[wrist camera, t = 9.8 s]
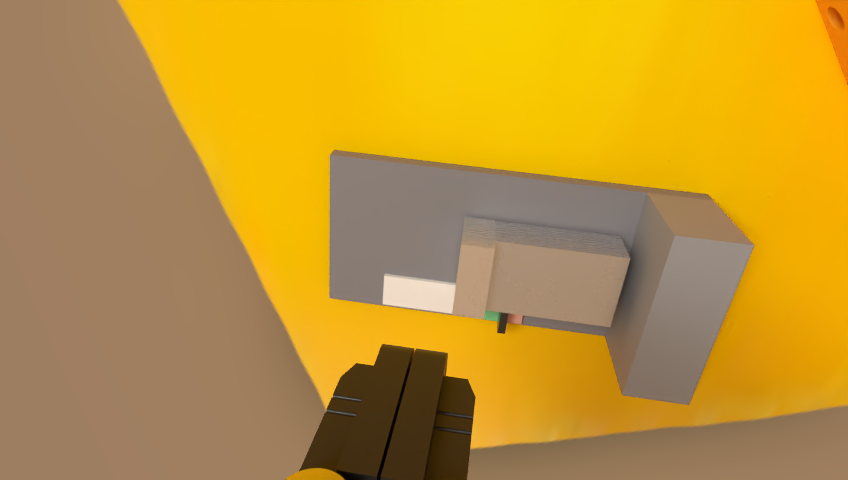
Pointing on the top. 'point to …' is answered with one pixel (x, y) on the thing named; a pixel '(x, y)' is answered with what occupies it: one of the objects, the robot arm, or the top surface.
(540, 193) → the base
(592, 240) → the block
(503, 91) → the top surface
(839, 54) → the pipe clamp
